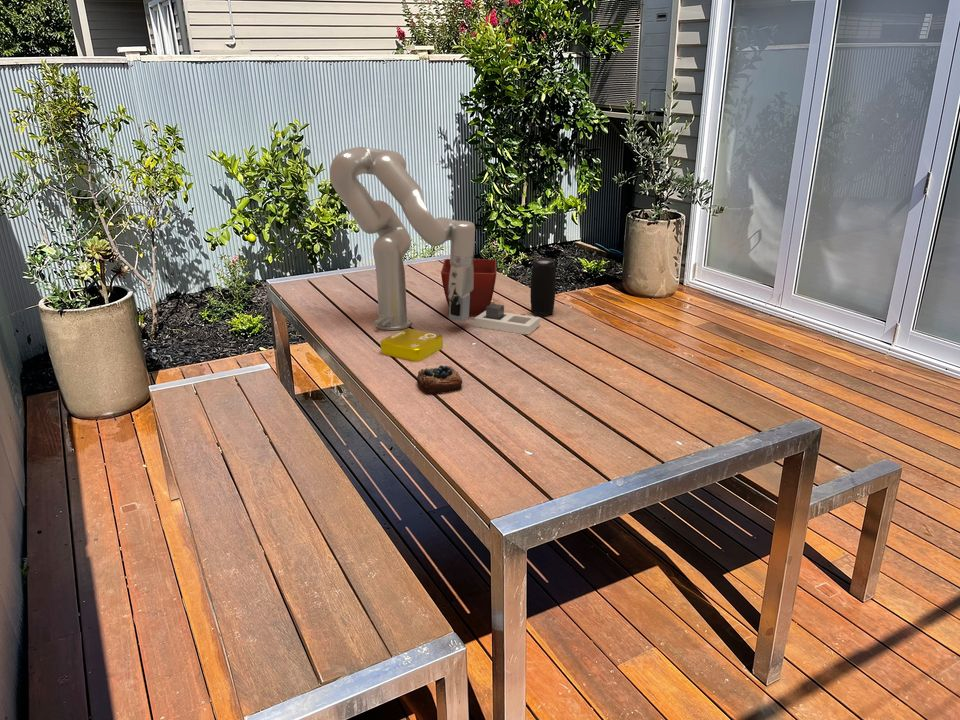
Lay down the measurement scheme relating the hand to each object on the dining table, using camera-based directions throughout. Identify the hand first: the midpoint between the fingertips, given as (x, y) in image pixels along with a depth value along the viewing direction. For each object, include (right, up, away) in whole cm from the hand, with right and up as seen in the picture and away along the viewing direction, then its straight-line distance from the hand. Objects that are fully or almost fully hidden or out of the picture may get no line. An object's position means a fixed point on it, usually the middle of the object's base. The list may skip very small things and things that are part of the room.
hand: (459, 312), depth 235 cm
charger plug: (0, -2, +1) cm, 2 cm away
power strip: (+18, -3, +8) cm, 20 cm away
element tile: (-14, -13, -15) cm, 25 cm away
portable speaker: (+29, +1, +17) cm, 34 cm away
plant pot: (+3, +2, +21) cm, 21 cm away
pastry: (-4, -23, -41) cm, 47 cm away
